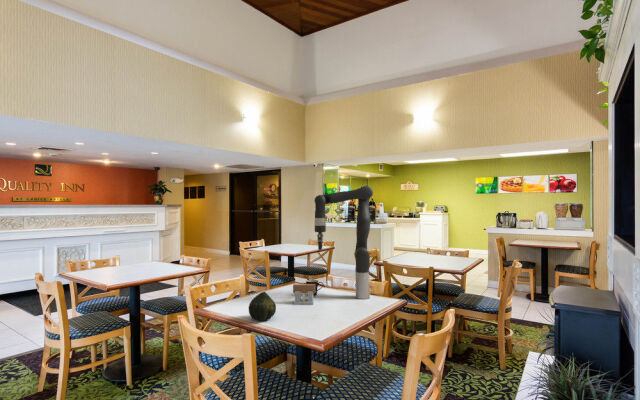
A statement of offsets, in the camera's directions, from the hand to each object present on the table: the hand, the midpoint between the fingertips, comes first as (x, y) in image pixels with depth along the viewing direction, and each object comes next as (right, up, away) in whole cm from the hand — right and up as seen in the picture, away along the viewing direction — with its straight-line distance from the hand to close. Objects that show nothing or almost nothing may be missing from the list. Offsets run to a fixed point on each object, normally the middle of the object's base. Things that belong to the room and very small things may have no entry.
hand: (320, 249), depth 238 cm
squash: (-32, -33, -43) cm, 63 cm away
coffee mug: (-4, -34, +9) cm, 35 cm away
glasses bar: (-10, -26, -10) cm, 30 cm away
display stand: (-10, -33, -10) cm, 36 cm away
